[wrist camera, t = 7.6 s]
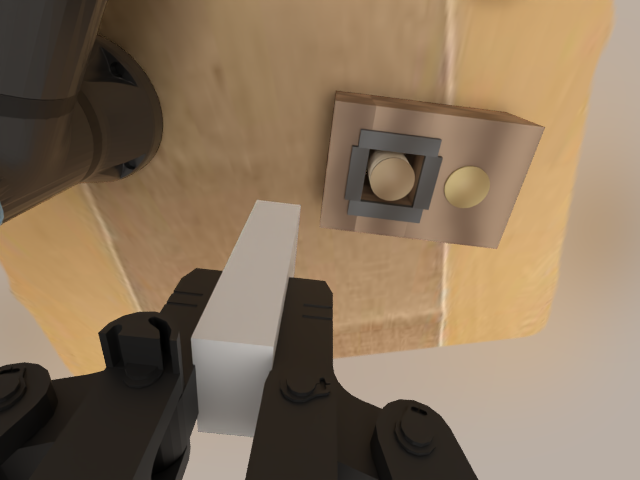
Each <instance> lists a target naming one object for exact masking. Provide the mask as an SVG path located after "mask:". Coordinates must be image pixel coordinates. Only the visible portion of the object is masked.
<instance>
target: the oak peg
mask: <svg viewBox="0 0 640 480" xmlns="http://www.w3.org/2000/svg"><path fill="white" fill-rule="evenodd" d="M366 168H367V172H368V176H369V181H370V185H371V188H372V190H373V192H374V193H375V194H376V195H377V196H378V197H379V198H381V199H383V200H387V201H394V200H398V199H401V198H403V197H405V196H406V195H407V194H408V193H409V192H410V191H411V189H412V187H413V185H414V181H415V174H414V171H413V169H412V167H411V165H410V164H409V162H408V160H407V159H406V157H405V156H404V154H403V153H400V152H392V151H384V150H376V149H370V150H369V156H368V162H367V167H366Z"/></svg>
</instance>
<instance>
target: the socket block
mask: <svg viewBox="0 0 640 480" xmlns="http://www.w3.org/2000/svg"><path fill="white" fill-rule="evenodd" d="M544 129H545V127H543V126H540V125H538V124H535V123H533V122H530V121H527V120H525V119H522V118H520V117H517V116H515V115H512V114H509V113H507V112H499V111H491V110H483V109H476V108H468V107H460V106H452V105H444V104H436V103H428V102H421V101H413V100H405V99H397V98H389V97H381V96H373V95H365V94H358V93H350V92H342V91H336V95H335V103H334V111H333V119H332V127H331V135H330V143H329V151H328V159H327V167H326V175H325V183H324V191H323V199H322V209H321V219H320V227H321V228H329V229H337V230H345V231H354V232H362V233H370V234H378V235H386V236H395V237H403V238H411V239H419V240H427V241H436V242H444V243H452V244H460V245H469V246H477V247H485V248H493V249H497V248H498V245H499V243H500V240H501V237H502V235H503V232H504V230H505V227H506V225H507V222H508V220H509V217H510V215H511V212H512V210H513V207H514V205H515V202H516V200H517V197H518V194H519V192H520V189H521V187H522V184H523V182H524V179H525V177H526V174H527V172H528V169H529V167H530V164H531V162H532V159H533V157H534V154H535V152H536V149H537V146H538V144H539V141H540V139H541V136H542V134H543V131H544ZM370 149H376V150H384V151H392V152H400V153H405V157H406V159H407V160H408V162H409V164H410V165H411V167H412V169H413V171H414V174H415V181H414V185H413V187H412V189H411V191H410V192H409V193H408V194H407V195H406V196H405V197H403V198H401V199H398V200H394V201H387V200H383V199H381V198H379V197H378V196H377V195H376V194H375V193H374V192H373V190H372V188H371V185H370V181H369V176H368V175H365V173H366V167H367V162H368V156H369V150H370Z"/></svg>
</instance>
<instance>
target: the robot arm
mask: <svg viewBox="0 0 640 480" xmlns="http://www.w3.org/2000/svg"><path fill="white" fill-rule="evenodd" d="M106 3H107V0H0V225H2V224H3V223H5V222H7V221H9V220H11V219H12V218H14V217H16V216H18V215H20V214H22V213H24V212H26V211H27V210H29V209H31V208H33V207H35V206H37V205H39V204H41V203H42V202H44V201H46V200H48V199H50V198H52V197H54V196H55V195H57V194H59V193H61V192H63V191H65V190H67V189H69V188H70V187H72V186H74V185H76V184H78V183H97V182H112V181H116V180H120V179H123V178H126V177H128V176H130V175H132V174H133V173H135V172H137V171H138V170H140V169H141V168H143V167H144V166H145V165H147V164H148V163H149V162H150V160H151V159H152V158H153V157H154V155H155V153H156V152H157V149H158V147H159V144H160V141H161V137H162V129H163V122H162V112H161V107H160V103H159V100H158V97H157V95H156V92H155V90H154V88H153V86H152V84H151V82H150V80H149V79H148V77H147V75H146V74H145V73H144V71H143V70H142V69H141V67H140V66H139V65H138V64H137V63H136V61H135V60H134V59H133V58H132V57H131V56H130V55H129V54H127V53H126V52H125V51H124V50H123V49H121V48H120V47H119V46H117V45H116V44H114V43H112V42H111V41H109V40H107V39H105V38H103V37H101V36H98V35H97V32H98V29H99V26H100V22H101V19H102V16H103V13H104V9H105V6H106ZM300 208H301V205H296V204H288V203H279V202H270V201H262V200H257V201H256V203H255V205H254V207H253V209H252V211H251V213H250V215H249V218H248V220H247V222H246V224H245V226H244V228H243V230H242V232H241V234H240V236H239V238H238V241H237V243H236V245H235V247H234V249H233V251H232V253H231V255H230V257H229V259H228V262H227V264H226V266H225V268H224V270H223V271H218V270H209V269H200V268H196V269H194V270H193V271H192V272H190V273H189V274H187V275H186V276H184V277H183V278H182V279H181V280H180V282H179V283H178V285H177V287H176V288H175V290H174V293H173V294H171V296H170V298H169V299H168V301H167V304H165V305H164V307H163V309H162V310H161V312H160V313H158V312H137V313H133V314H129V315H125V316H122V317H120V318H118V319H116V320H114V321H112V322H110V323H109V324H108V325H106V326H105V327H104V328H103V329H102V330H101V331H100V332H99V333H98V334H99V338H100V342H101V346H102V351H103V355H104V359H105V363H106V369H105V370H104V371H101V372H97V373H92V374H88V375H81V376H75V377H69V378H62V379H56V380H51V378H50V375H49V373H48V370H46V369H45V368H43V367H42V366H40V365H39V364H32V363H25V362H24V363H17V364H10V365H5V366H2V367H0V480H182V478H183V475H184V472H185V469H186V466H187V463H188V461H189V455H190V436H191V433H192V430H193V427H194V425H195V421H196V419H197V424H198V432H207V433H217V434H227V435H237V436H248V437H254V439H253V444H252V449H251V454H250V459H249V464H248V468H247V473H246V478H245V480H478V478H477V476H476V475H475V473H474V471H473V469H472V468H471V465H470V464H469V462H468V460H467V458H466V456H465V454H464V453H463V451H462V449H461V447H460V445H459V444H458V442H457V440H456V438H455V436H454V434H453V433H452V431H451V429H450V428H449V426H448V425H447V424H446V422H445V421H444V420H443V418H442V417H441V416H440V415H439V414H438V413H436V412H435V411H434V410H432V409H431V408H430V407H428V406H427V405H424V404H422V403H419V402H417V401H414V400H402V399H400V400H396V401H393V402H390V403H388V404H387V405H386V406H385V407H384V408H383V409H381V408H378V407H376V406H374V405H371V404H369V403H366V402H364V401H362V400H360V399H358V398H356V397H354V396H352V395H351V394H350V393H348V392H347V391H346V390H345V389H344V388H343V387H342V386H341V384H340V383H339V382H338V380H337V378H336V376H335V374H334V370H333V321H332V319H333V309H332V308H333V293H332V292H331V290H330V288H329V287H328V285H327V283H326V282H325V281H320V280H311V279H302V278H294V271H295V261H296V250H297V240H298V229H299V219H300Z"/></svg>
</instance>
